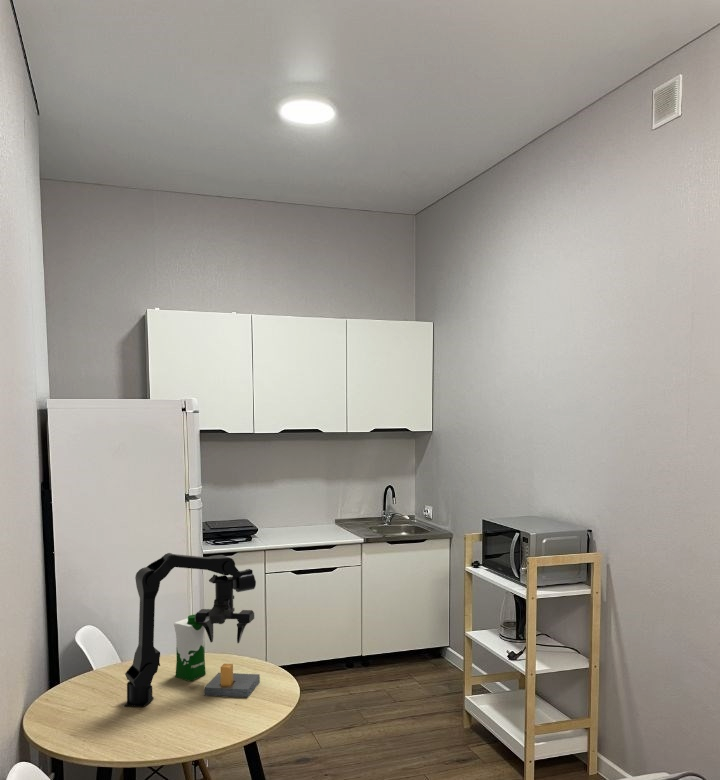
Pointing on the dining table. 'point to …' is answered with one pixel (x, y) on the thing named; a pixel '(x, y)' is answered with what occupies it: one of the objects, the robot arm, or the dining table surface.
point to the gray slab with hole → (233, 686)
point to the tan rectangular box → (226, 675)
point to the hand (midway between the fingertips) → (225, 642)
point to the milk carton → (189, 649)
